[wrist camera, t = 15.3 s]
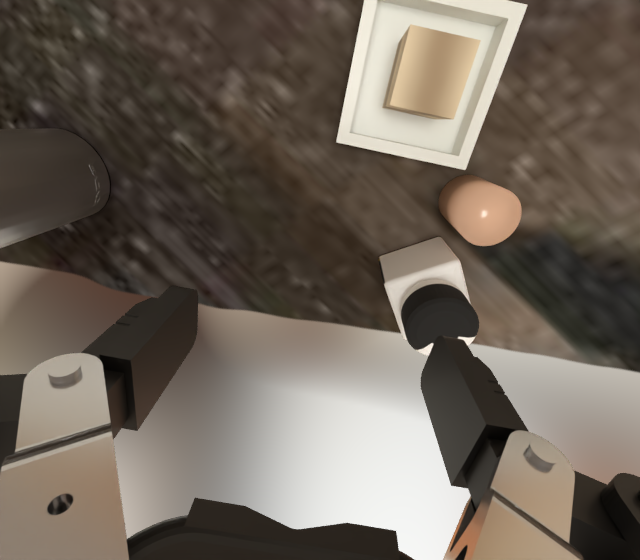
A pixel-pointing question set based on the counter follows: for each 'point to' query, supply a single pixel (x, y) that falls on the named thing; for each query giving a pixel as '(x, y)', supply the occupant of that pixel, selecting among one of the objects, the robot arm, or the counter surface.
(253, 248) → the counter surface
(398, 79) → the maple block
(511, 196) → the peach rounded capsule
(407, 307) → the medicine bottle
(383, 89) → the white tray
